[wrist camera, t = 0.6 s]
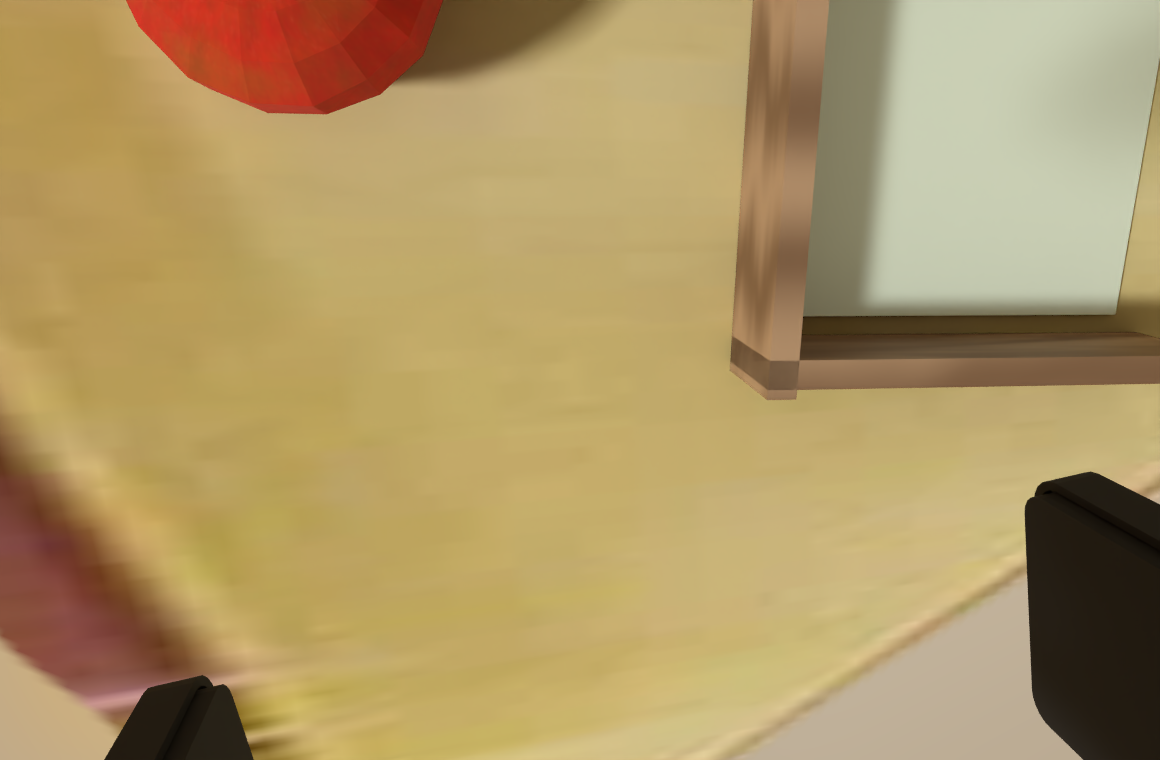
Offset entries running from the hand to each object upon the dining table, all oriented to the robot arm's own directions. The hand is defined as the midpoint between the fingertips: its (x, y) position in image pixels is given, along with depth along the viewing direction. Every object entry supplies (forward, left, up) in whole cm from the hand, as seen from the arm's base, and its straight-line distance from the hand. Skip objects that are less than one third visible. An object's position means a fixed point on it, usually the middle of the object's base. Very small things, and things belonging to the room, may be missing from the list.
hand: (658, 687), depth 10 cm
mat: (-7, +20, -28) cm, 36 cm away
